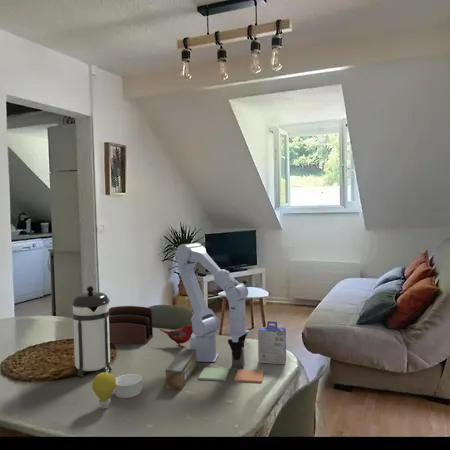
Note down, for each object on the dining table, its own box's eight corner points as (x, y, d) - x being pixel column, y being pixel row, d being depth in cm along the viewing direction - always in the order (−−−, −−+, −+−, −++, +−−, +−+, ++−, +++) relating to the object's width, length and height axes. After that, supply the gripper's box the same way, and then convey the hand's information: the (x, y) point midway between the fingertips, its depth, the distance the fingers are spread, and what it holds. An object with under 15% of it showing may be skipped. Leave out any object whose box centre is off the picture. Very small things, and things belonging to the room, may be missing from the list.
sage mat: (198, 379, 143) (198, 377, 143) (204, 369, 152) (204, 367, 151) (225, 380, 141) (225, 379, 141) (229, 370, 150) (229, 368, 150)
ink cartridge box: (286, 359, 160) (286, 321, 159) (285, 365, 154) (285, 325, 153) (260, 358, 162) (259, 320, 161) (258, 363, 156) (257, 324, 155)
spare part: (232, 367, 152) (231, 345, 152) (233, 363, 156) (233, 342, 156) (243, 368, 152) (242, 346, 151) (244, 364, 156) (244, 342, 155)
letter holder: (110, 336, 193) (109, 305, 192) (153, 337, 190) (152, 305, 189) (101, 343, 183) (100, 310, 182) (146, 344, 180) (145, 311, 180)
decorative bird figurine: (193, 350, 171) (192, 326, 170) (157, 344, 180) (157, 320, 179) (196, 348, 173) (196, 324, 173) (161, 342, 182) (161, 319, 182)
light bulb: (95, 402, 127) (94, 369, 127) (118, 401, 128) (117, 368, 127) (90, 413, 121) (89, 378, 120) (114, 411, 121) (113, 377, 121)
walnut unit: (165, 389, 136) (164, 370, 135) (182, 365, 156) (181, 348, 155) (182, 390, 135) (181, 371, 134) (197, 366, 155) (196, 349, 154)
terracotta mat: (234, 381, 141) (234, 379, 141) (238, 370, 149) (238, 369, 149) (261, 382, 139) (261, 381, 139) (263, 372, 148) (263, 370, 148)
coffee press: (124, 364, 158) (122, 283, 156) (94, 380, 143) (91, 291, 142) (88, 358, 165) (85, 280, 163) (56, 373, 150) (53, 288, 149)
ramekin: (117, 401, 128) (116, 387, 127) (110, 390, 136) (110, 377, 135) (146, 395, 132) (145, 381, 132) (138, 384, 140) (137, 371, 139)
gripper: (246, 324, 145) (247, 363, 146) (251, 313, 160) (251, 349, 160) (225, 323, 147) (226, 362, 147) (232, 313, 161) (233, 348, 161)
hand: (238, 355), depth 154 cm, fingers open, 7 cm apart
